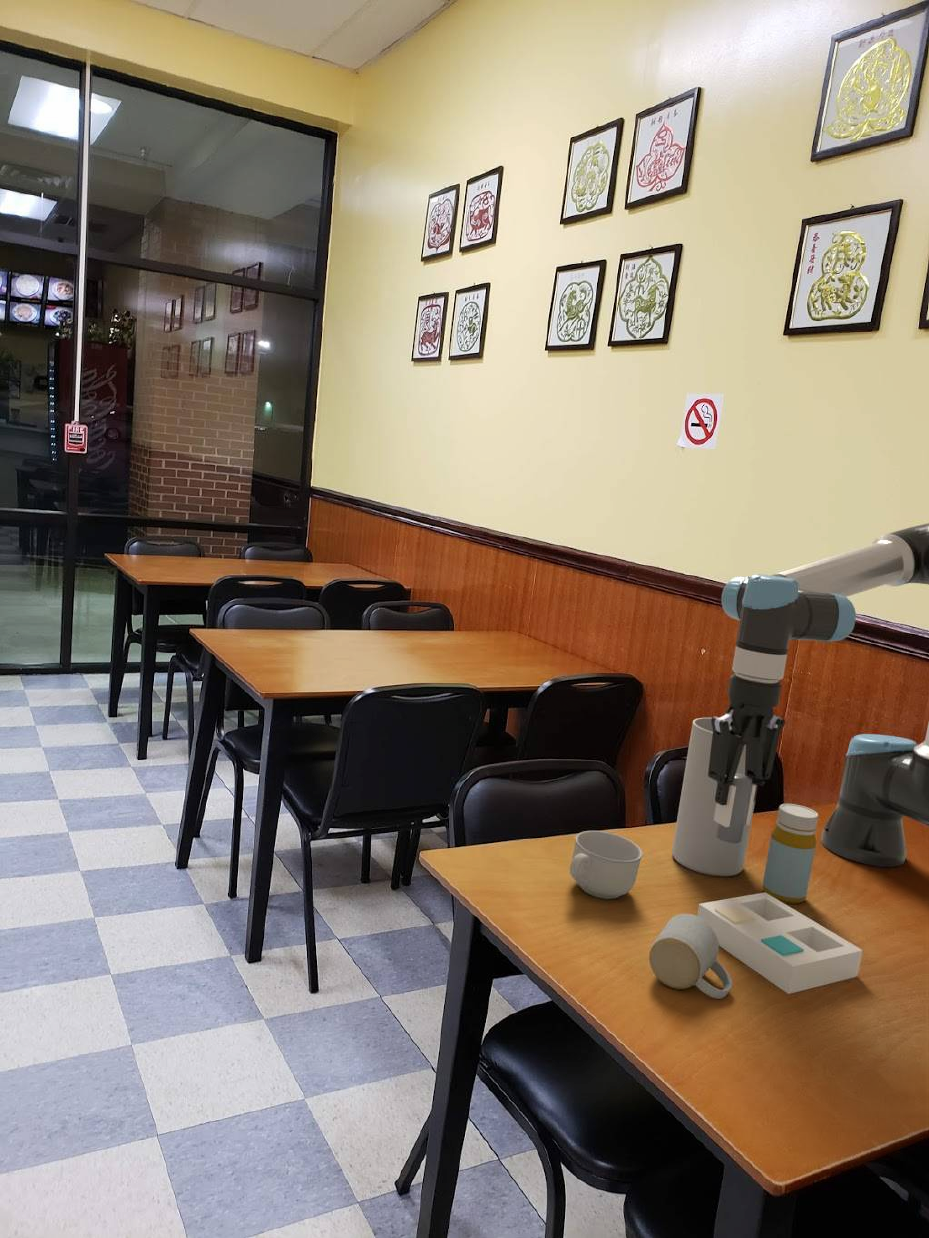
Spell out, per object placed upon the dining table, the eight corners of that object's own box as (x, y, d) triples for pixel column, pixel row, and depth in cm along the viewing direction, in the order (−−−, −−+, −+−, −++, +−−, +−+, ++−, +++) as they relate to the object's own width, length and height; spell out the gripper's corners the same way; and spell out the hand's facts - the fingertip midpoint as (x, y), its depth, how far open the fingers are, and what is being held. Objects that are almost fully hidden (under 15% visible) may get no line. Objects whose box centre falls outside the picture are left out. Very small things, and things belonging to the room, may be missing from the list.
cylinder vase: (657, 851, 165) (678, 718, 161) (709, 845, 171) (730, 716, 167) (704, 881, 154) (727, 740, 150) (758, 874, 160) (782, 737, 156)
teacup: (604, 871, 154) (610, 826, 152) (649, 899, 145) (657, 852, 143) (539, 884, 146) (546, 837, 144) (583, 915, 137) (591, 865, 136)
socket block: (761, 915, 144) (765, 890, 143) (857, 976, 128) (863, 948, 127) (694, 928, 137) (699, 901, 136) (788, 994, 121) (793, 964, 121)
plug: (728, 831, 145) (739, 771, 143) (747, 841, 141) (757, 780, 140) (709, 833, 143) (720, 773, 141) (727, 844, 139) (738, 782, 138)
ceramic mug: (641, 980, 120) (651, 926, 119) (660, 955, 128) (670, 904, 126) (720, 1012, 115) (731, 957, 114) (736, 984, 123) (746, 932, 121)
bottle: (808, 908, 148) (824, 821, 146) (764, 900, 150) (779, 813, 147) (801, 890, 155) (816, 807, 153) (759, 882, 156) (774, 799, 154)
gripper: (776, 670, 145) (752, 809, 149) (698, 670, 137) (674, 817, 141) (814, 682, 139) (787, 827, 142) (733, 683, 131) (708, 836, 134)
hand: (731, 822), depth 142 cm, fingers closed on plug, 3 cm apart
